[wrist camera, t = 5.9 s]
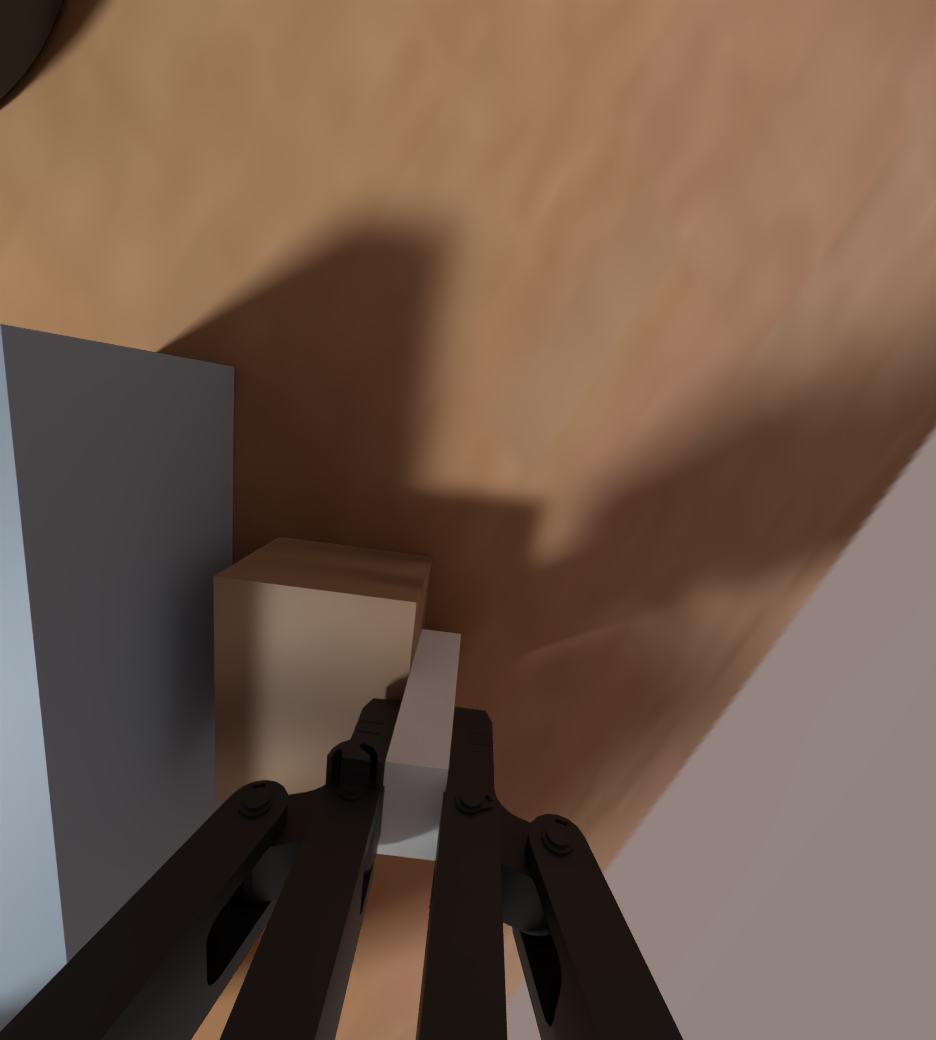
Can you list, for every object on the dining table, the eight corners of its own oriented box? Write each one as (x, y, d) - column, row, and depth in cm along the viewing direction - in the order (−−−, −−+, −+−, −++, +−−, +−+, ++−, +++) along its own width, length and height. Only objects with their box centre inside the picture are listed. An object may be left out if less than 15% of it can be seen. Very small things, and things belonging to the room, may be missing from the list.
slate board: (150, 355, 16) (-164, 301, 8) (234, 366, 16) (0, 323, 8) (164, 813, 21) (-27, 1055, 13) (229, 822, 21) (78, 1069, 13)
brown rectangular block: (280, 535, 18) (213, 576, 13) (433, 555, 18) (416, 602, 13) (275, 712, 20) (215, 799, 15) (413, 730, 19) (393, 823, 15)
